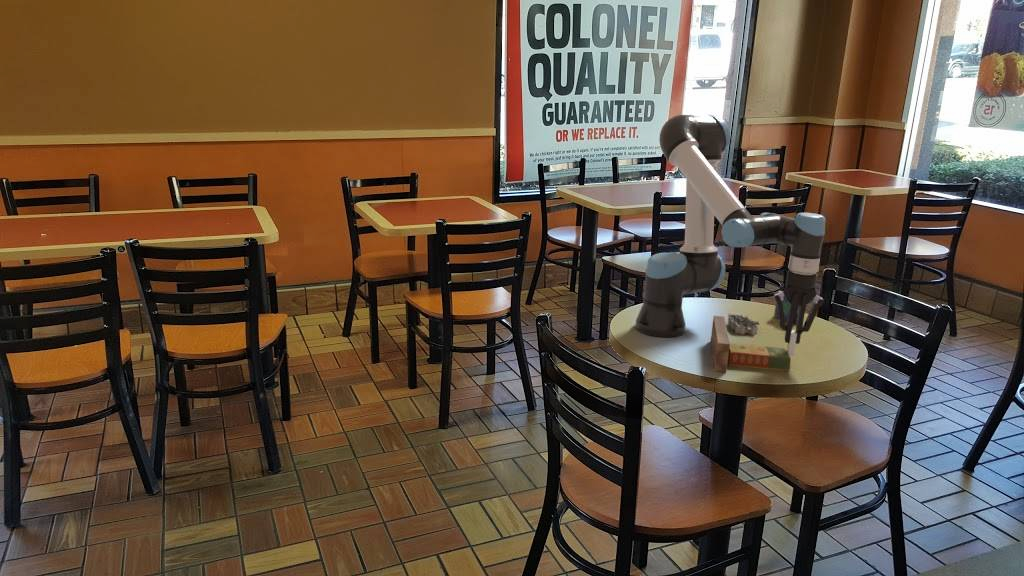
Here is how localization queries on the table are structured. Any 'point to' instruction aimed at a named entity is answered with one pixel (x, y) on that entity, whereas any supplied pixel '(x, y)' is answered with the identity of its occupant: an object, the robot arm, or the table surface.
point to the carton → (758, 357)
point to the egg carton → (742, 324)
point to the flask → (786, 310)
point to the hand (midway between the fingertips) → (790, 353)
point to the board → (719, 344)
